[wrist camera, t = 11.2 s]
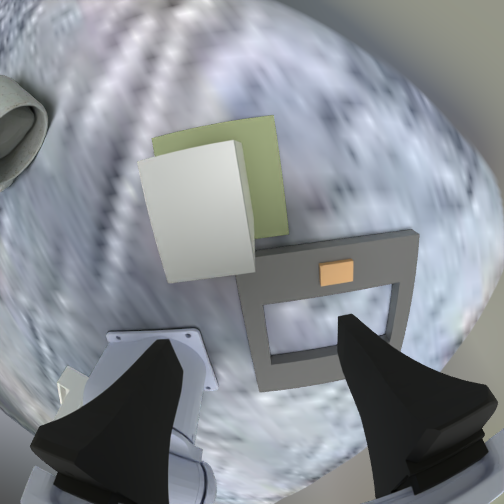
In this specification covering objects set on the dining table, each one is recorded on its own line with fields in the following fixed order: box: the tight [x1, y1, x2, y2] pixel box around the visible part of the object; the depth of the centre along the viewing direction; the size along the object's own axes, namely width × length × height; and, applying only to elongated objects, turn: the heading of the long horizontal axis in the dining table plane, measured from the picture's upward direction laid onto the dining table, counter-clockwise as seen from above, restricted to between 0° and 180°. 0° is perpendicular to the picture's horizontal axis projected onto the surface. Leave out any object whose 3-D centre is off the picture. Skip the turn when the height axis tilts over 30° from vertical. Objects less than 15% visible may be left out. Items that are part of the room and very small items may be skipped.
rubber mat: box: [152, 115, 289, 239], centre depth 17 cm, size 8×8×1 cm
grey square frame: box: [235, 229, 419, 392], centre depth 21 cm, size 14×14×2 cm
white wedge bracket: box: [53, 366, 89, 421], centre depth 22 cm, size 4×10×9 cm, turn 154°
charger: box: [137, 140, 255, 283], centre depth 13 cm, size 4×5×8 cm
